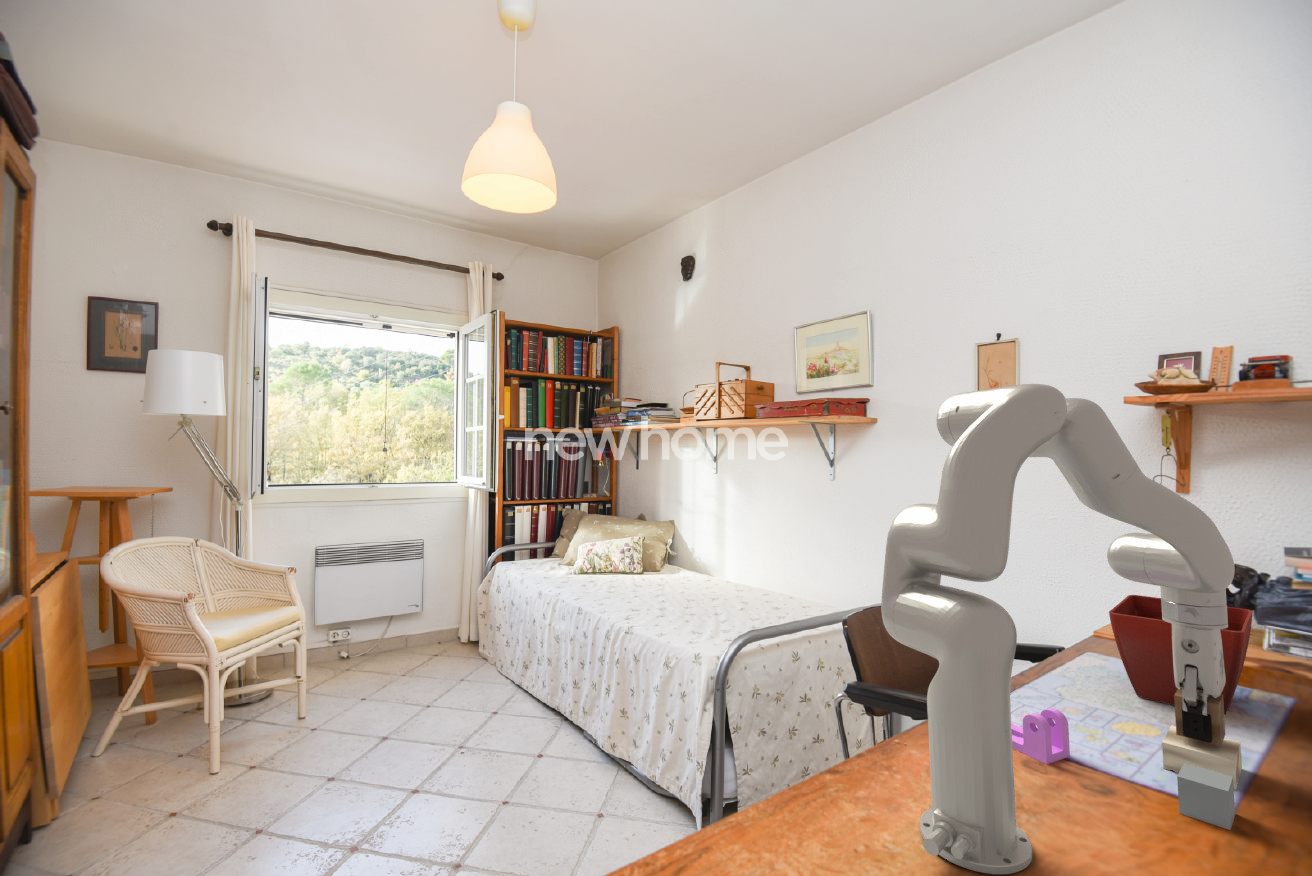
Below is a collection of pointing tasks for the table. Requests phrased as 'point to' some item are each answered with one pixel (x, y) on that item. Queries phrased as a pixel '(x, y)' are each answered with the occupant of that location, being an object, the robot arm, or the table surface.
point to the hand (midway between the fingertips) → (1200, 731)
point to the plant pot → (1170, 647)
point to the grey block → (1206, 795)
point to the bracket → (1043, 736)
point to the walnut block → (1213, 709)
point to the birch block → (1202, 755)
